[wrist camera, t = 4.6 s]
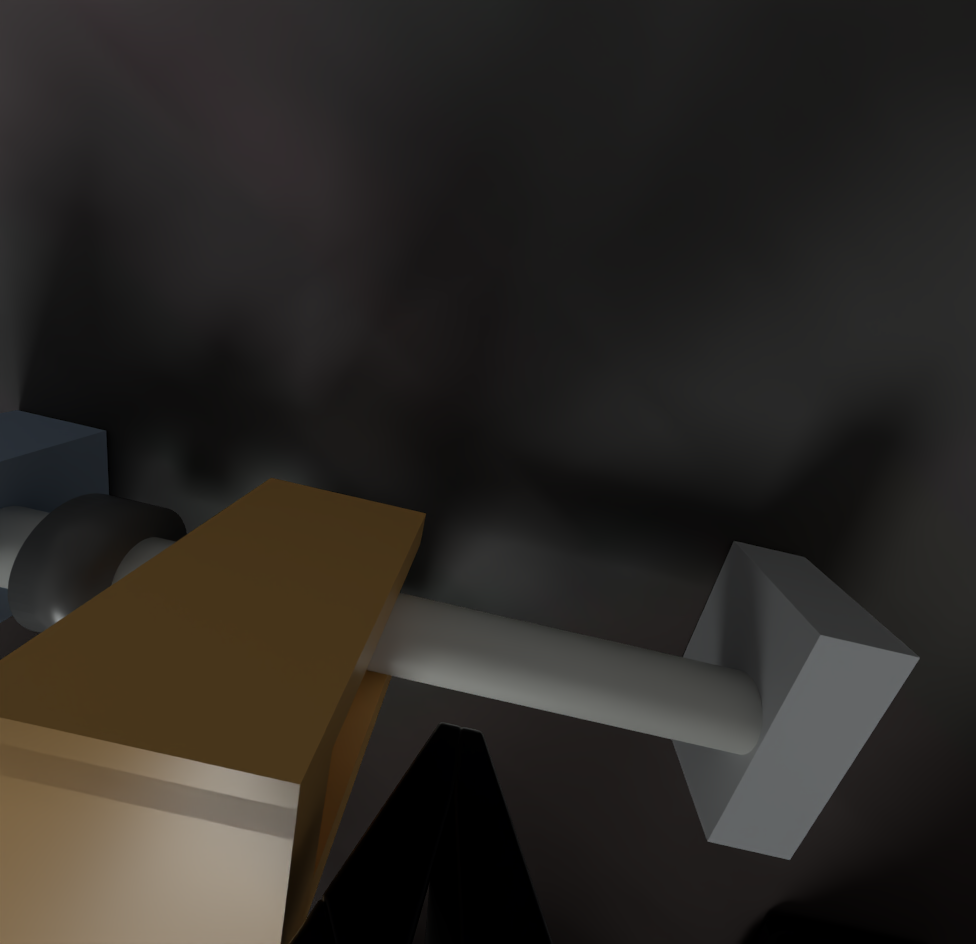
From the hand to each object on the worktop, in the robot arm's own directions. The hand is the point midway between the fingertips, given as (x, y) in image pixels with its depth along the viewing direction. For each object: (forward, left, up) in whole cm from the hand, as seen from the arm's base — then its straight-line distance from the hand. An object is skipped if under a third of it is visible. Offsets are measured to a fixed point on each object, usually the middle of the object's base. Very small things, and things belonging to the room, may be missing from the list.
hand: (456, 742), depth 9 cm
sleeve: (+4, 0, -4) cm, 6 cm away
